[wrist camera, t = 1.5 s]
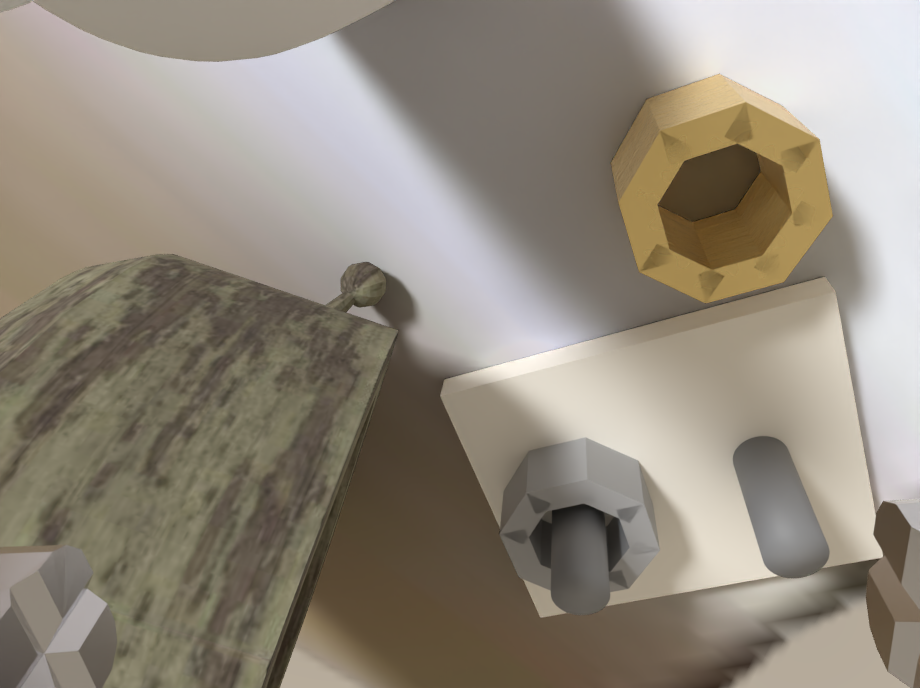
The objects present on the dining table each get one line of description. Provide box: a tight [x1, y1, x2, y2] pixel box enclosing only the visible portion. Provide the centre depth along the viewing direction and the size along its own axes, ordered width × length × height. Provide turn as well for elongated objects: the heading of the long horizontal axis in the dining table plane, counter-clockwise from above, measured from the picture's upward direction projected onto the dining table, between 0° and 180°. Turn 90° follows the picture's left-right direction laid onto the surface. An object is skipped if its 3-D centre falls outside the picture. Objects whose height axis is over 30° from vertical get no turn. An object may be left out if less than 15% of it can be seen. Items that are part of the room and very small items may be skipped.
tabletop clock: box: [0, 254, 399, 688], centre depth 20 cm, size 14×9×25 cm, turn 161°
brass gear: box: [611, 74, 833, 303], centre depth 24 cm, size 5×5×4 cm
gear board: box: [440, 277, 883, 618], centre depth 28 cm, size 14×12×6 cm
